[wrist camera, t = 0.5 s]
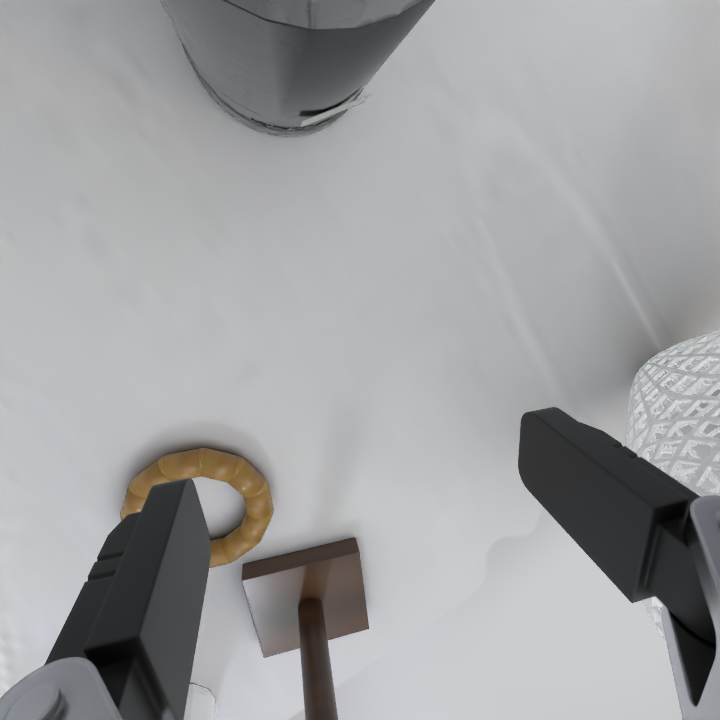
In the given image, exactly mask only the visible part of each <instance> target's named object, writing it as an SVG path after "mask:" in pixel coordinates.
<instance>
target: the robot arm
mask: <svg viewBox="0 0 720 720" xmlns="http://www.w3.org/2000/svg"><path fill="white" fill-rule="evenodd" d="M434 1H435V0H160V2H161V4H162V6H163V7H164V9H165V11H166V13H167V15H168V17H169V19H170V21H171V23H172V24H173V26H174V28H175V30H176V32H177V34H178V36H179V38H180V40H181V42H182V45H183V48H184V50H185V52H186V55H187V57H188V59H189V61H190V63H191V65H192V67H193V69H194V71H195V73H196V74H197V76H198V78H199V79H200V81H201V82H202V84H203V86H204V87H205V88H206V90H207V91H208V92H209V94H210V95H211V96H212V97H213V98H214V99H215V101H216V102H217V103H218V104H219V105H220V106H221V107H222V108H223V109H224V110H225V111H227V112H228V113H229V114H230V115H232V116H233V117H234V118H236V119H237V120H239V121H240V122H242V123H243V124H245V125H247V126H249V127H251V128H253V129H256V130H258V131H260V132H264V133H267V134H271V135H276V136H285V137H294V136H303V135H307V134H311V133H314V132H317V131H320V130H322V129H324V128H326V127H327V126H329V125H331V124H332V123H334V122H335V121H336V120H337V119H339V118H340V117H341V116H342V115H343V114H344V113H345V112H346V111H347V110H348V109H349V108H351V107H354V106H356V105H359V104H361V103H363V102H364V101H365V100H366V99H367V98H368V97H369V96H370V95H371V94H370V95H368V96H365V97H363V98H360V99H358V100H356V99H357V98H358V96H359V94H360V93H361V91H362V90H363V88H364V87H365V85H366V84H367V83H368V82H369V81H370V79H371V78H372V77H373V76H374V74H375V73H376V72H377V71H378V70H379V68H380V67H381V66H382V65H383V63H384V62H385V61H386V60H387V59H388V57H389V56H390V55H391V54H392V52H393V51H394V50H395V49H396V48H397V46H398V45H399V44H400V43H401V41H402V40H403V39H404V38H405V37H406V35H407V34H408V33H409V32H410V30H411V29H412V28H413V27H414V26H415V24H416V23H417V22H418V21H419V19H420V18H421V17H422V16H423V15H424V13H425V12H426V11H427V10H428V8H429V7H430V6H431V5H432V4H433V2H434ZM518 469H519V473H520V476H521V479H522V481H523V483H524V485H525V487H526V488H527V489H528V490H529V491H530V493H531V494H532V495H533V496H534V497H535V498H536V499H537V500H538V501H539V502H540V503H541V505H542V506H543V507H544V508H545V509H546V510H547V511H548V512H549V513H550V514H551V515H552V517H553V518H554V519H555V520H556V521H557V522H558V523H559V524H560V525H561V526H562V527H563V528H564V530H565V531H566V532H567V533H568V534H569V535H570V536H571V537H572V538H573V539H574V540H575V541H576V543H577V544H578V545H579V546H580V547H581V548H582V549H583V550H584V551H585V552H586V554H587V555H588V556H589V557H590V558H591V559H592V560H593V561H594V562H595V563H596V565H597V566H598V567H599V568H600V569H601V570H602V571H603V572H604V573H605V574H606V575H607V576H608V578H609V579H610V580H611V581H612V582H613V583H614V584H615V585H616V586H617V587H618V589H619V590H621V592H622V593H623V594H624V595H625V596H626V597H627V598H628V599H629V601H630V602H632V603H634V602H637V601H641V600H644V599H647V598H651V597H654V596H656V597H657V598H658V599H659V600H660V601H661V602H662V603H663V608H662V612H661V619H662V624H663V629H664V634H665V638H666V643H667V647H668V652H669V657H670V662H671V666H672V671H673V675H674V680H675V685H676V690H677V694H678V699H679V704H680V708H681V713H682V719H683V720H720V496H716V495H711V496H703V497H701V496H699V495H698V494H696V493H695V492H693V491H692V490H690V489H689V488H687V487H686V486H684V485H683V484H681V483H680V482H678V481H677V480H675V479H674V478H672V477H671V476H669V475H668V474H666V473H665V472H663V471H662V470H660V469H659V468H657V467H656V466H654V465H653V464H651V463H650V462H648V461H647V460H645V459H644V458H642V457H638V456H637V454H636V453H635V452H633V451H632V450H630V449H629V448H627V447H626V446H624V447H623V446H622V444H621V443H620V442H618V441H617V440H615V439H614V438H612V437H611V436H609V435H608V434H606V433H605V432H603V431H601V430H599V429H596V428H593V427H591V426H588V425H586V424H583V423H581V422H578V421H576V420H575V419H573V418H572V417H570V416H569V415H568V414H566V413H565V412H563V411H562V410H560V409H559V408H556V407H551V408H546V409H541V410H536V411H531V412H526V413H525V414H524V415H523V416H522V419H521V428H520V443H519V458H518ZM210 557H211V545H210V536H209V531H208V528H207V524H206V521H205V518H204V514H203V511H202V508H201V504H200V501H199V498H198V494H197V491H196V487H195V484H194V482H193V480H192V479H191V478H186V479H181V480H176V481H171V482H166V483H161V484H156V485H153V486H152V487H151V489H150V491H149V494H148V496H147V499H146V501H145V503H144V506H143V508H142V510H141V512H137V513H132V514H128V515H127V516H126V517H125V518H124V519H123V520H122V521H121V522H120V523H119V524H118V526H117V527H116V528H115V529H114V530H113V531H112V532H111V533H110V534H109V535H108V537H107V539H106V541H105V543H104V545H103V547H102V549H101V551H100V553H99V555H98V557H97V559H98V560H97V562H95V563H94V565H93V567H92V569H91V571H90V573H89V575H88V582H85V584H84V586H83V588H82V590H81V592H80V594H79V596H78V598H77V600H76V602H75V604H74V606H73V608H72V610H71V612H70V614H69V616H68V618H67V620H66V622H65V624H64V626H63V628H62V630H61V632H60V634H59V636H58V638H57V640H56V642H55V644H54V647H53V649H52V651H51V653H50V655H49V657H48V659H47V661H46V663H45V664H44V666H43V667H41V668H39V669H37V670H35V671H34V672H32V673H31V674H29V675H27V676H26V677H24V678H23V679H22V680H21V681H19V682H18V683H17V684H15V685H14V686H13V687H12V688H11V689H10V690H9V691H7V692H6V693H5V694H4V695H3V696H2V697H1V698H0V720H184V714H185V708H186V702H187V696H188V690H189V684H190V678H191V672H192V666H193V660H194V654H195V648H196V642H197V637H198V631H199V625H200V619H201V613H202V607H203V601H204V595H205V589H206V583H207V577H208V571H209V565H210Z"/></svg>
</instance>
